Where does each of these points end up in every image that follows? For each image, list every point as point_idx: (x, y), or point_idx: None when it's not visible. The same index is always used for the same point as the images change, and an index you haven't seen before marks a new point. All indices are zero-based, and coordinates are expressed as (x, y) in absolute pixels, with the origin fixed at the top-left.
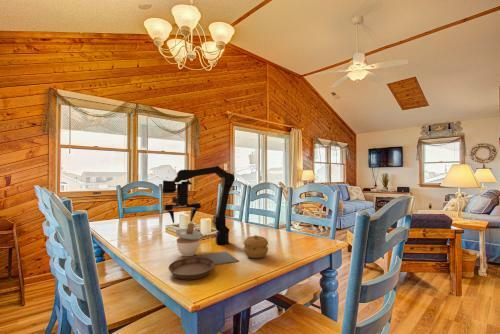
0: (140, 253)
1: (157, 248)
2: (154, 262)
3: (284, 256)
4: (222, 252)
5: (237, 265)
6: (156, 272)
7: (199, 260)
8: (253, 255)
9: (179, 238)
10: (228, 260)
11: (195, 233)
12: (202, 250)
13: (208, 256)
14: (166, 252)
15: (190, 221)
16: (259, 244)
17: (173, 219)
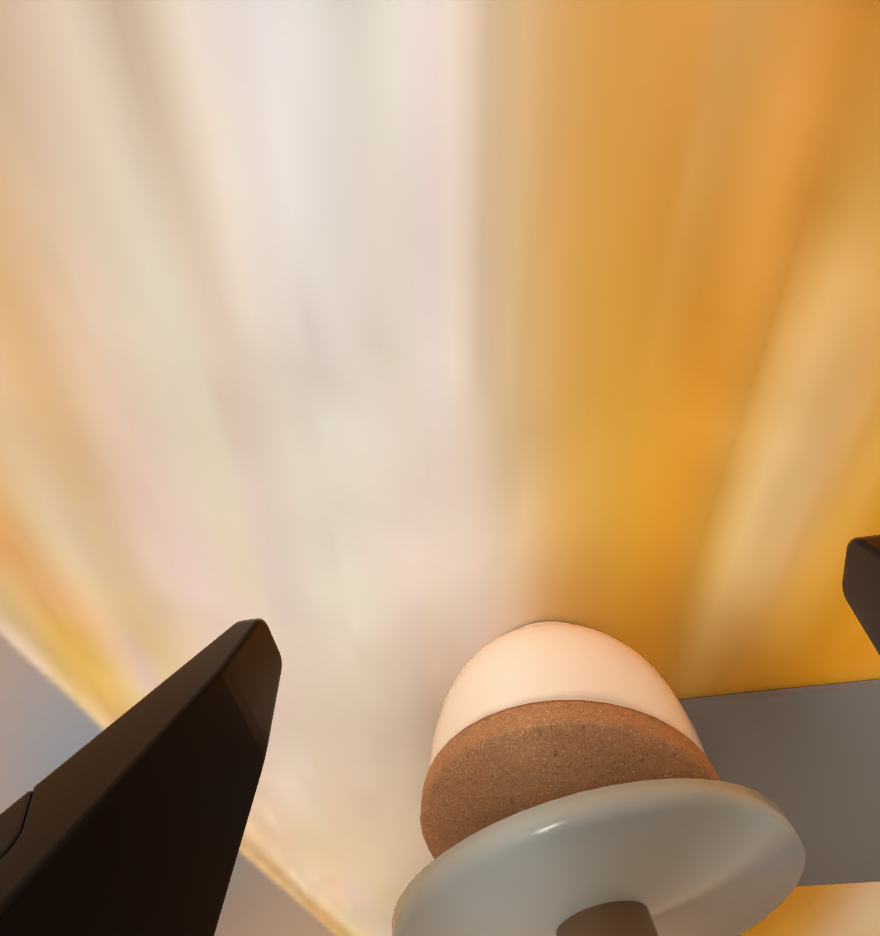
0: (36, 507)
1: (165, 350)
2: (266, 751)
3: None
4: None
5: (846, 912)
6: (323, 882)
7: None
8: None
9: (456, 815)
10: (832, 861)
11: (697, 894)
12: (727, 569)
13: (716, 764)
14: (318, 541)
15: (851, 555)
16: None
17: (227, 817)
